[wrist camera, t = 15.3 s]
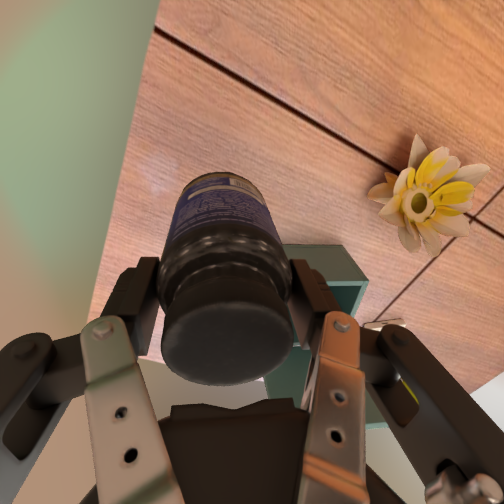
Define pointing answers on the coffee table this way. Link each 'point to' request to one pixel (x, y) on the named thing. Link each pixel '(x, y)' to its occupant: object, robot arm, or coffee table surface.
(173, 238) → the pill bottle
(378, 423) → the lid
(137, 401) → the robot arm
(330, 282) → the chest
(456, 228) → the decorative flower
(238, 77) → the coffee table surface
